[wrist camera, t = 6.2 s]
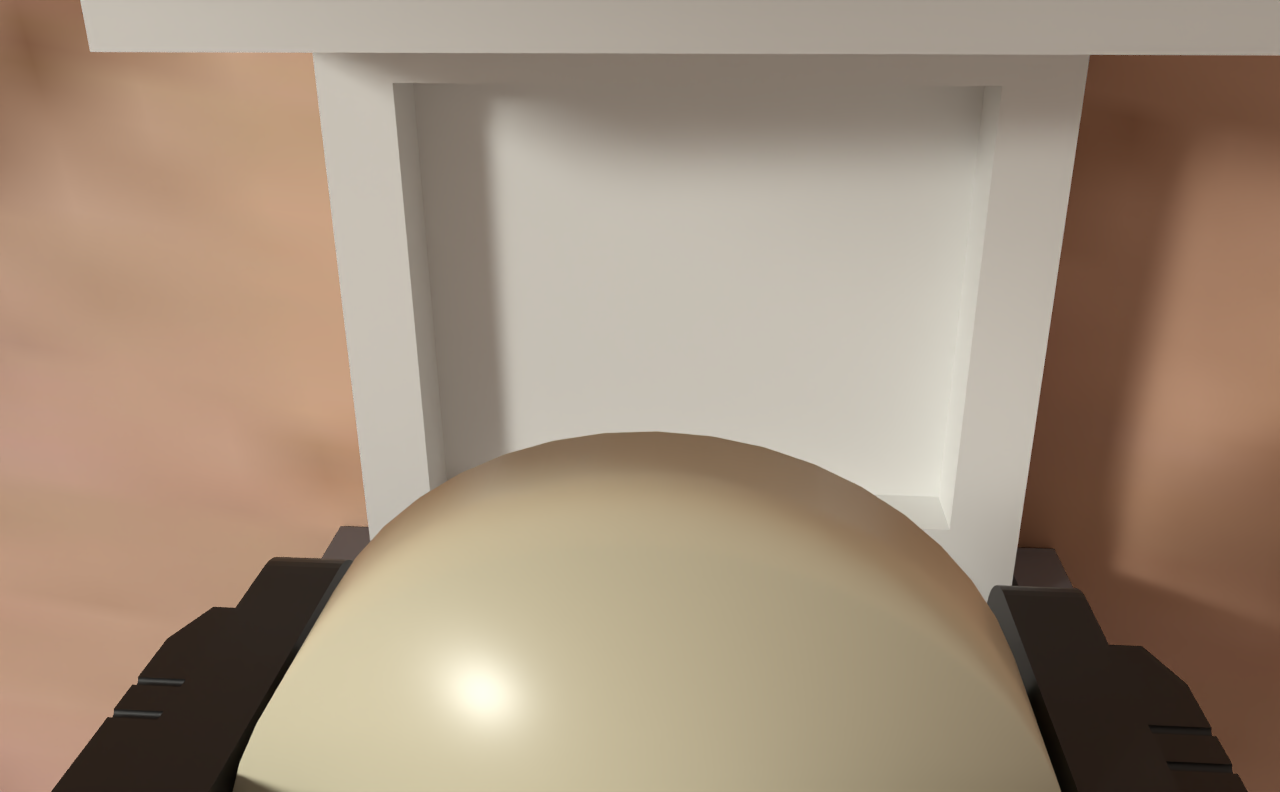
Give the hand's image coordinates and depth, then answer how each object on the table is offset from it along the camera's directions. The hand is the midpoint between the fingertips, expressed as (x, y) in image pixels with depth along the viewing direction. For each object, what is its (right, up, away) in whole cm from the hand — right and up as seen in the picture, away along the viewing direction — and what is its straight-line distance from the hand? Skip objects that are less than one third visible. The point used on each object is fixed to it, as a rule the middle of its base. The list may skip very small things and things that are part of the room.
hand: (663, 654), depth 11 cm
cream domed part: (0, -1, -1) cm, 1 cm away
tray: (+1, +3, +10) cm, 11 cm away
